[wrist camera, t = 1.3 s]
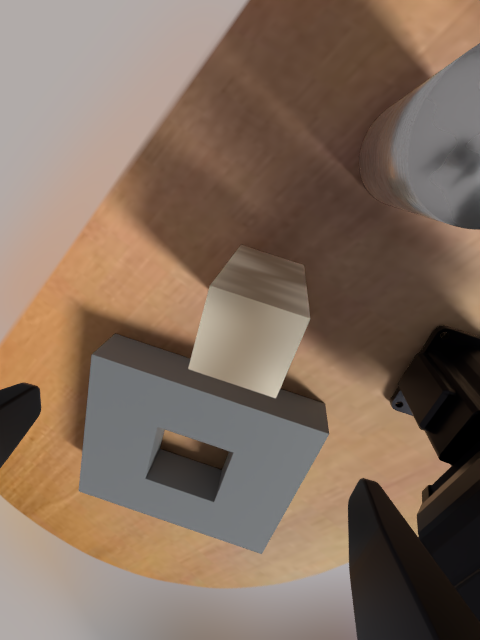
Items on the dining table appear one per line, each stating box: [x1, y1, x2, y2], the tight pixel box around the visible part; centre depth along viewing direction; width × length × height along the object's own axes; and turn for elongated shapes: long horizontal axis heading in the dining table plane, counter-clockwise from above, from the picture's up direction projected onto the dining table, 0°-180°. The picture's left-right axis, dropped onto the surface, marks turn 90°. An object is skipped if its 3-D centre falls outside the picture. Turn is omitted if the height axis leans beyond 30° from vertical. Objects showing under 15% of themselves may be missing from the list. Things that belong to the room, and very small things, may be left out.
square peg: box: [188, 245, 310, 398], centre depth 17 cm, size 4×4×8 cm
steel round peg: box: [359, 43, 480, 229], centre depth 13 cm, size 5×5×8 cm
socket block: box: [79, 334, 329, 554], centre depth 25 cm, size 16×14×3 cm
